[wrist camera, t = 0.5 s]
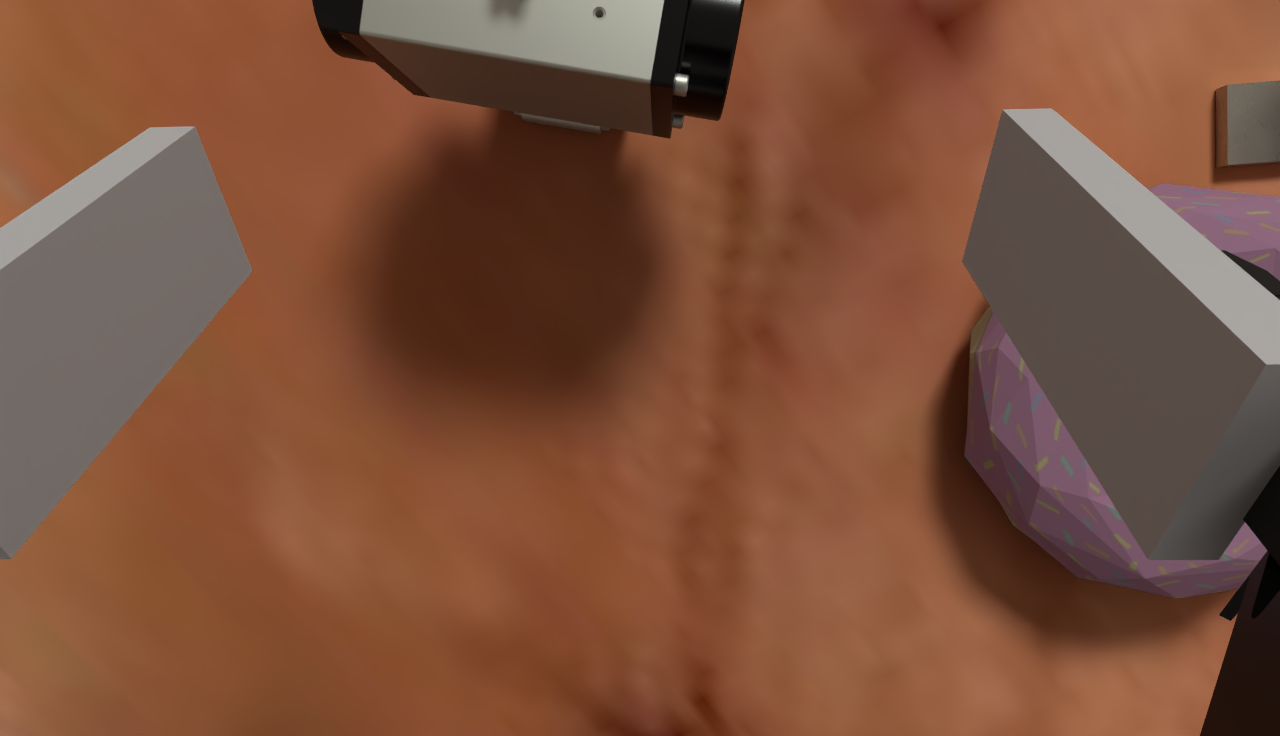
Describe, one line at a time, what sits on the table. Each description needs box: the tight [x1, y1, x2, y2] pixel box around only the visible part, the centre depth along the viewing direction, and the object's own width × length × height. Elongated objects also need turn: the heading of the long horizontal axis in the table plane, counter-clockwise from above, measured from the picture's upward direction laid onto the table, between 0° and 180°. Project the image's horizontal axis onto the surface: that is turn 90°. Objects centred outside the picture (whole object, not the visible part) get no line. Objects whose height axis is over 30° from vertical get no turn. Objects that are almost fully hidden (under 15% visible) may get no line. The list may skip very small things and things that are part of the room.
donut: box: [964, 183, 1280, 599], centre depth 28 cm, size 16×15×5 cm
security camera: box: [312, 0, 744, 138], centre depth 24 cm, size 6×12×12 cm, turn 80°
